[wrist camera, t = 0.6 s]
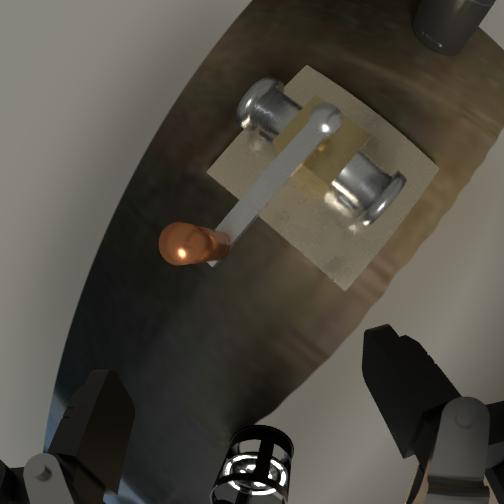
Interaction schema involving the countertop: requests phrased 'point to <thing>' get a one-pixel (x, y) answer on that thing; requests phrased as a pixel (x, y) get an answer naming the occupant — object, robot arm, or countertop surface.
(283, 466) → the french press
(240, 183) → the valve
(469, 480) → the robot arm
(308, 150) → the valve lever
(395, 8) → the countertop surface
